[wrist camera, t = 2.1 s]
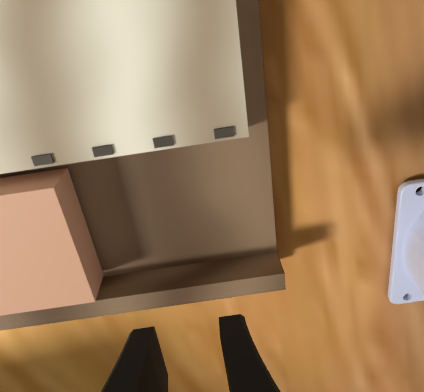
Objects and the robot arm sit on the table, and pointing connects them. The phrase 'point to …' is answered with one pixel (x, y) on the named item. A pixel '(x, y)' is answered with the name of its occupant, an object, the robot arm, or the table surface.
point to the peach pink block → (44, 245)
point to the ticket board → (146, 143)
